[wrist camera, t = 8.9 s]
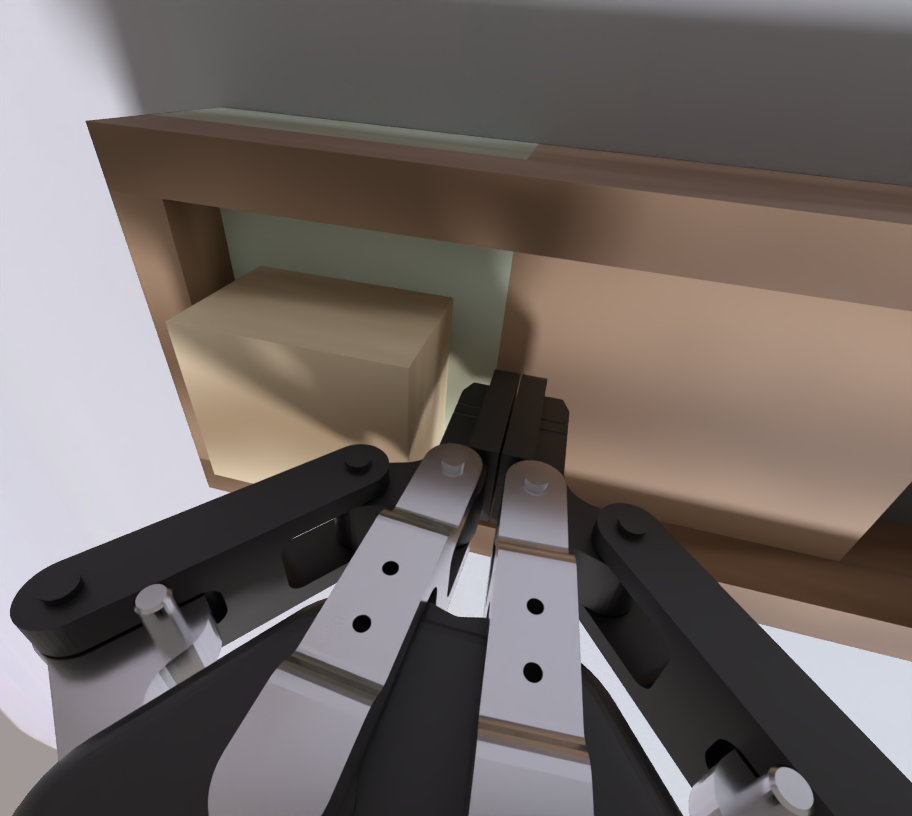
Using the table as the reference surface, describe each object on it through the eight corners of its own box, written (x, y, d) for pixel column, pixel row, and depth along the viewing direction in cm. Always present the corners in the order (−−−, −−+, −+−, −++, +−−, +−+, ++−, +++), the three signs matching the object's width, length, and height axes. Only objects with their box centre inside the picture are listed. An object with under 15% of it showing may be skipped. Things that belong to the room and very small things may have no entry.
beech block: (260, 265, 14) (165, 321, 11) (453, 297, 13) (408, 368, 10) (284, 400, 17) (214, 474, 14) (443, 433, 16) (406, 520, 13)
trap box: (221, 107, 15) (85, 121, 11) (1563, 261, 10) (2182, 384, 6) (279, 411, 22) (209, 487, 18) (1081, 586, 17) (1225, 739, 13)
